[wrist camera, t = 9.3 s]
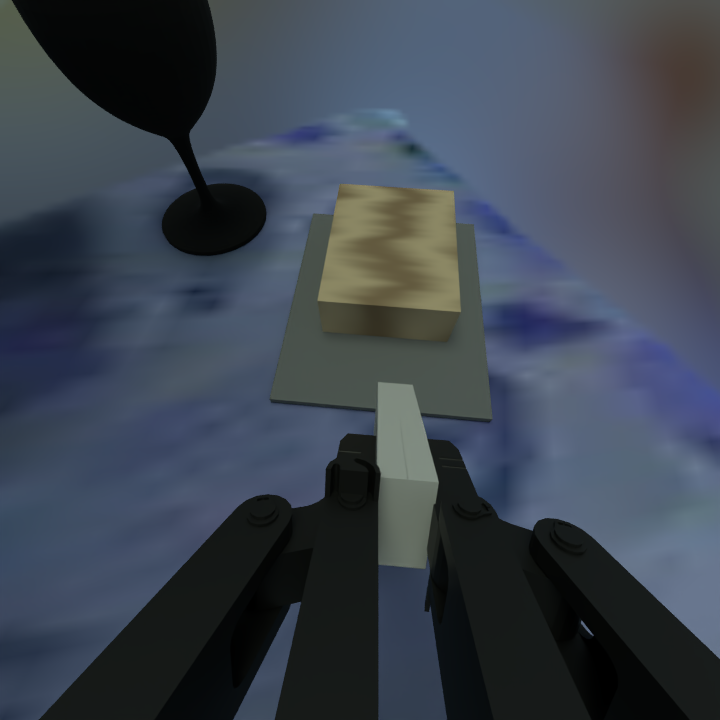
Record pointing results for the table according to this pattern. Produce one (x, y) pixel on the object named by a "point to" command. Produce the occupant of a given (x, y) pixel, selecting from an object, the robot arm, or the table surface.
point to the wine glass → (152, 95)
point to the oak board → (391, 264)
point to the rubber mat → (383, 348)
